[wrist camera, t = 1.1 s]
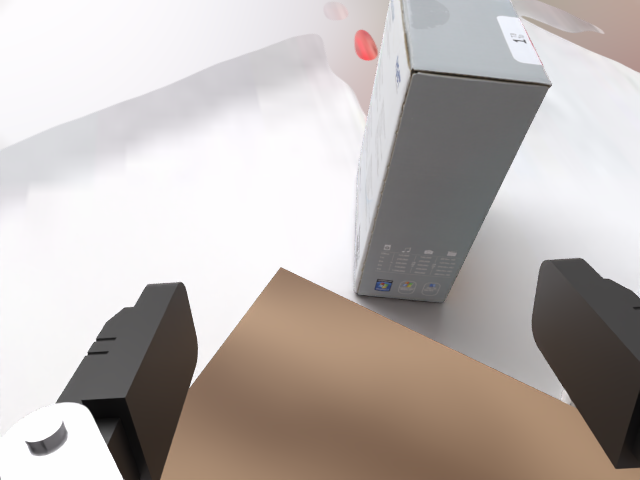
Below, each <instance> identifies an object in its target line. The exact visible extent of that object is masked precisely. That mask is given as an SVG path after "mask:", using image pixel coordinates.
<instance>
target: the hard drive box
mask: <svg viewBox="0 0 640 480" xmlns="http://www.w3.org/2000/svg"><path fill="white" fill-rule="evenodd" d="M551 86H552V83H551V81H550V79H549V77H548V75H547V73H546V71H545V69H544V67H543V64H542V62H541V60H540V58H539V56H538V54H537V52H536V50H535V48H534V46H533V44H532V42H531V40H530V38H529V36H528V34H527V32H526V30H525V28H524V26H523V24H522V22H521V20H520V18H519V17H518V15H517V13H516V11H515V9H514V6H513V5H512V3H511V0H390V1H389V7H388V12H387V18H386V23H385V28H384V33H383V39H382V44H381V49H380V54H379V59H378V65H377V70H376V75H375V80H374V85H373V91H372V96H371V101H370V106H369V112H368V117H367V122H366V128H365V133H364V138H363V143H362V149H361V154H360V160H359V165H358V172H357V207H356V235H355V263H354V292H357V293H358V295H366V296H377V297H387V298H397V299H408V300H418V301H428V302H444V301H445V299H446V297H447V295H448V293H449V291H450V289H451V287H452V285H453V283H454V281H455V279H456V277H457V275H458V273H459V271H460V269H461V267H462V265H463V263H464V261H465V259H466V256H467V254H468V252H469V250H470V248H471V246H472V244H473V242H474V240H475V238H476V236H477V234H478V232H479V230H480V228H481V225H482V223H483V221H484V219H485V217H486V215H487V213H488V211H489V209H490V207H491V205H492V203H493V201H494V199H495V197H496V195H497V193H498V191H499V188H500V186H501V184H502V182H503V180H504V178H505V176H506V174H507V172H508V170H509V168H510V166H511V164H512V162H513V160H514V158H515V156H516V153H517V151H518V149H519V147H520V145H521V143H522V141H523V139H524V137H525V135H526V133H527V131H528V129H529V127H530V125H531V123H532V121H533V119H534V117H535V115H536V113H537V111H538V109H539V107H540V105H541V103H542V101H543V99H544V97H545V95H546V93H547V91H548V89H549V88H550V87H551Z"/></svg>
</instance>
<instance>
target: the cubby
mask: <svg viewBox="0 0 640 480" xmlns="http://www.w3.org/2000/svg"><path fill="white" fill-rule="evenodd" d="M160 480H640V468H628V469H615V467H614V466H613V464H612V463H611V461H610V460H609V458H608V456H607V455H606V453H605V452H604V450H603V449H602V447H601V445H600V444H599V442H598V441H597V439H596V438H595V436H594V434H593V433H592V431H591V430H590V428H589V427H588V425H587V423H586V422H585V420H584V419H583V417H582V416H581V414H580V412H579V411H578V409H577V408H575V407H573V406H571V405H569V404H566V403H564V402H562V401H560V400H558V399H556V398H554V397H552V396H550V395H548V394H545V393H543V392H541V391H539V390H537V389H535V388H533V387H531V386H529V385H527V384H525V383H522V382H520V381H518V380H516V379H514V378H512V377H510V376H508V375H506V374H504V373H501V372H499V371H497V370H495V369H493V368H491V367H489V366H487V365H485V364H483V363H480V362H478V361H476V360H474V359H472V358H470V357H468V356H466V355H464V354H462V353H460V352H457V351H455V350H453V349H451V348H449V347H447V346H445V345H443V344H441V343H439V342H436V341H434V340H432V339H430V338H428V337H426V336H424V335H422V334H420V333H418V332H415V331H413V330H411V329H409V328H407V327H405V326H403V325H401V324H399V323H397V322H394V321H392V320H390V319H388V318H386V317H384V316H382V315H380V314H378V313H376V312H374V311H371V310H369V309H367V308H365V307H363V306H361V305H359V304H357V303H355V302H353V301H350V300H348V299H346V298H344V297H342V296H340V295H338V294H336V293H334V292H332V291H329V290H327V289H325V288H323V287H321V286H319V285H317V284H315V283H313V282H311V281H309V280H306V279H304V278H302V277H300V276H298V275H296V274H294V273H292V272H290V271H288V270H285V269H283V268H280V269H279V270H278V272H277V273H276V274H275V276H274V277H273V278H272V280H271V281H270V282H269V283H268V285H267V286H266V287H265V289H264V290H263V291H262V293H261V294H260V295H259V297H258V298H257V299H256V301H255V302H254V303H253V305H252V306H251V307H250V309H249V310H248V311H247V313H246V314H245V315H244V317H243V318H242V319H241V321H240V322H239V323H238V325H237V326H236V327H235V329H234V330H233V331H232V333H231V334H230V335H229V337H228V338H227V339H226V341H225V342H224V343H223V345H222V346H221V347H220V349H219V350H218V351H217V353H216V354H215V355H214V356H213V358H212V359H211V360H210V362H209V363H208V364H207V366H206V367H205V368H204V370H203V371H202V372H201V374H200V375H199V376H198V378H197V379H196V380H195V382H194V383H193V384H192V386H191V387H190V388H189V390H188V393H187V396H186V399H185V402H184V405H183V409H182V412H181V415H180V418H179V421H178V424H177V428H176V431H175V434H174V437H173V440H172V444H171V447H170V450H169V453H168V456H167V460H166V463H165V466H164V469H163V472H162V475H161V479H160Z"/></svg>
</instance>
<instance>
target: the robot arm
mask: <svg viewBox="0 0 640 480" xmlns="http://www.w3.org/2000/svg"><path fill="white" fill-rule="evenodd" d="M532 331H533V336H534V339H535V342H536V345H537V346H538V348H539V350H540V351H541V353H542V354H543V356H544V357H545V359H546V361H547V362H548V364H549V365H550V367H551V368H552V370H553V372H554V373H555V375H556V376H557V378H558V379H559V381H560V383H561V384H562V386H563V387H564V389H565V390H566V392H567V394H568V395H569V397H570V398H571V400H572V401H573V403H574V405H575V406H576V408H577V409H578V411H579V412H580V414H581V416H582V417H583V419H584V420H585V422H586V423H587V425H588V427H589V428H590V430H591V431H592V433H593V434H594V436H595V438H596V439H597V441H598V442H599V444H600V445H601V447H602V449H603V450H604V452H605V453H606V455H607V456H608V458H609V460H610V461H611V463H612V464H613V466H614V467H615V469H628V468H640V298H639V297H638V296H637V295H636V294H635V293H634V292H633V291H631V290H629V289H627V288H625V287H623V286H622V285H620V284H618V283H616V282H614V281H612V280H610V279H603V278H602V277H601V276H600V275H599V274H598V273H597V272H596V271H595V270H594V269H593V268H592V267H591V266H590V265H589V264H588V263H587V262H586V261H585V260H583V259H581V258H573V259H557V260H545V261H544V262H543V263H542V264H541V266H540V270H539V276H538V282H537V288H536V295H535V301H534V308H533V314H532ZM197 356H198V344H197V336H196V332H195V327H194V323H193V318H192V314H191V309H190V305H189V300H188V296H187V291H186V288H185V286H184V284H183V283H182V282H176V283H160V284H148V285H147V286H146V287H145V289H144V290H143V292H142V294H141V296H140V297H139V299H138V301H137V303H136V304H135V306H134V307H127V308H123V309H122V310H121V311H120V312H119V313H117V314H116V315H115V316H114V317H112V318H111V319H110V320H109V321H107V322H106V324H105V325H104V327H103V329H102V330H101V332H100V333H99V335H98V337H97V338H96V342H94V343H93V344H92V346H91V348H90V349H89V351H88V356H85V357H84V359H83V360H82V362H81V364H80V365H79V367H78V368H77V370H76V372H75V373H74V375H73V376H72V378H71V380H70V381H69V383H68V384H67V386H66V388H65V389H64V391H63V392H62V394H61V395H60V397H59V399H58V400H57V402H56V403H55V404H53V405H49V406H46V407H43V408H41V409H39V410H36V411H35V412H33V413H31V414H29V415H27V416H26V417H24V418H23V419H21V420H20V421H19V422H17V423H16V424H15V425H14V426H13V427H12V428H11V429H10V430H9V431H8V432H7V433H6V434H5V435H4V437H3V438H2V440H1V442H0V480H160V479H161V475H162V472H163V469H164V466H165V463H166V460H167V456H168V453H169V450H170V447H171V444H172V440H173V437H174V434H175V431H176V428H177V424H178V421H179V418H180V415H181V412H182V409H183V405H184V402H185V399H186V396H187V393H188V389H189V386H190V383H191V380H192V377H193V374H194V370H195V367H196V363H197Z"/></svg>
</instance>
